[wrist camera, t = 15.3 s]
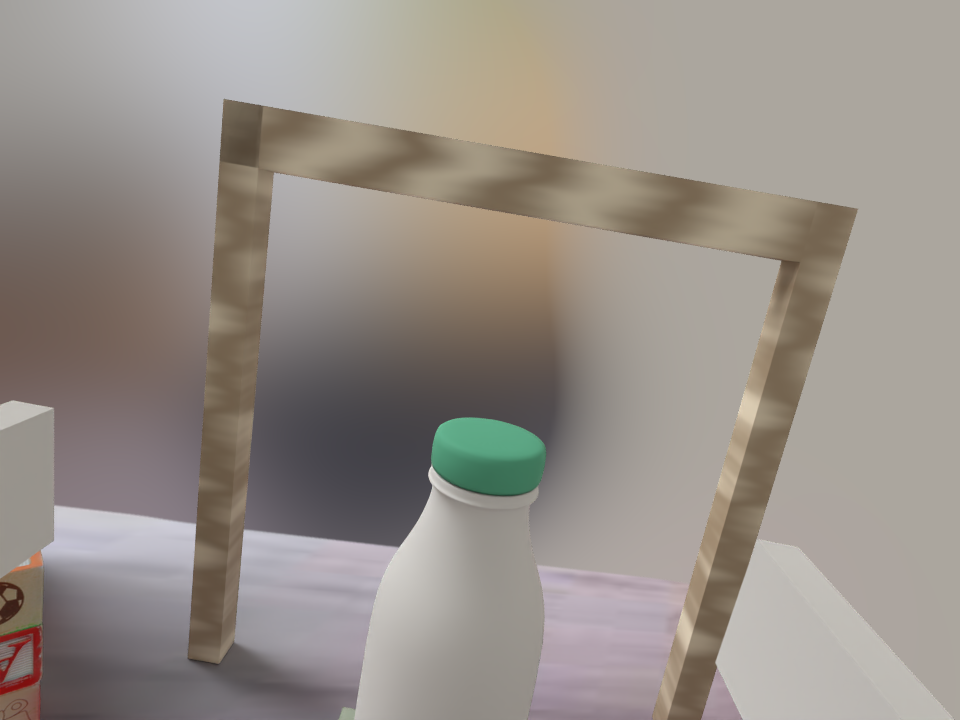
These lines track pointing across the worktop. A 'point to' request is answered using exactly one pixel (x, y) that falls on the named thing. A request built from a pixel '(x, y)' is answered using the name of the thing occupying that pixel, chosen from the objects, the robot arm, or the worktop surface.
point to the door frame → (534, 193)
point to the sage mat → (347, 714)
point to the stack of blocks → (21, 640)
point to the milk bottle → (462, 587)
